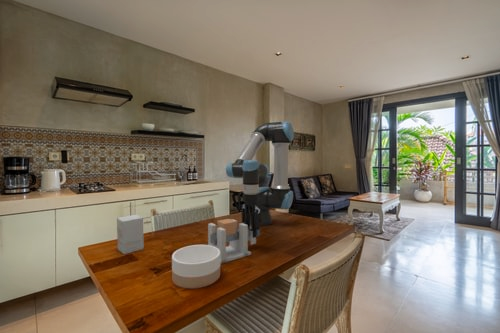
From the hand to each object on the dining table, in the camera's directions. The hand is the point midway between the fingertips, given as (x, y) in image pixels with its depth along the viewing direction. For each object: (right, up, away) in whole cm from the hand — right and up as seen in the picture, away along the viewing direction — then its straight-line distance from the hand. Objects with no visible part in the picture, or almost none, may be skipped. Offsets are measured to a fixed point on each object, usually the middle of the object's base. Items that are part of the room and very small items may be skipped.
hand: (250, 242), depth 112 cm
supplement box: (-56, -3, -1) cm, 56 cm away
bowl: (-20, -4, -25) cm, 32 cm away
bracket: (-10, -3, -7) cm, 13 cm away
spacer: (-10, +7, -8) cm, 15 cm away
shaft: (-6, +3, -5) cm, 9 cm away
